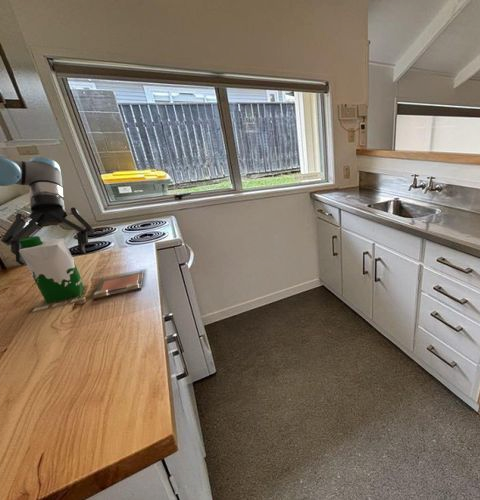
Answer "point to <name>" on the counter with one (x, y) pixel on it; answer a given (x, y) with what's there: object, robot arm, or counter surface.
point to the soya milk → (52, 268)
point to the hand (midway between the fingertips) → (52, 257)
